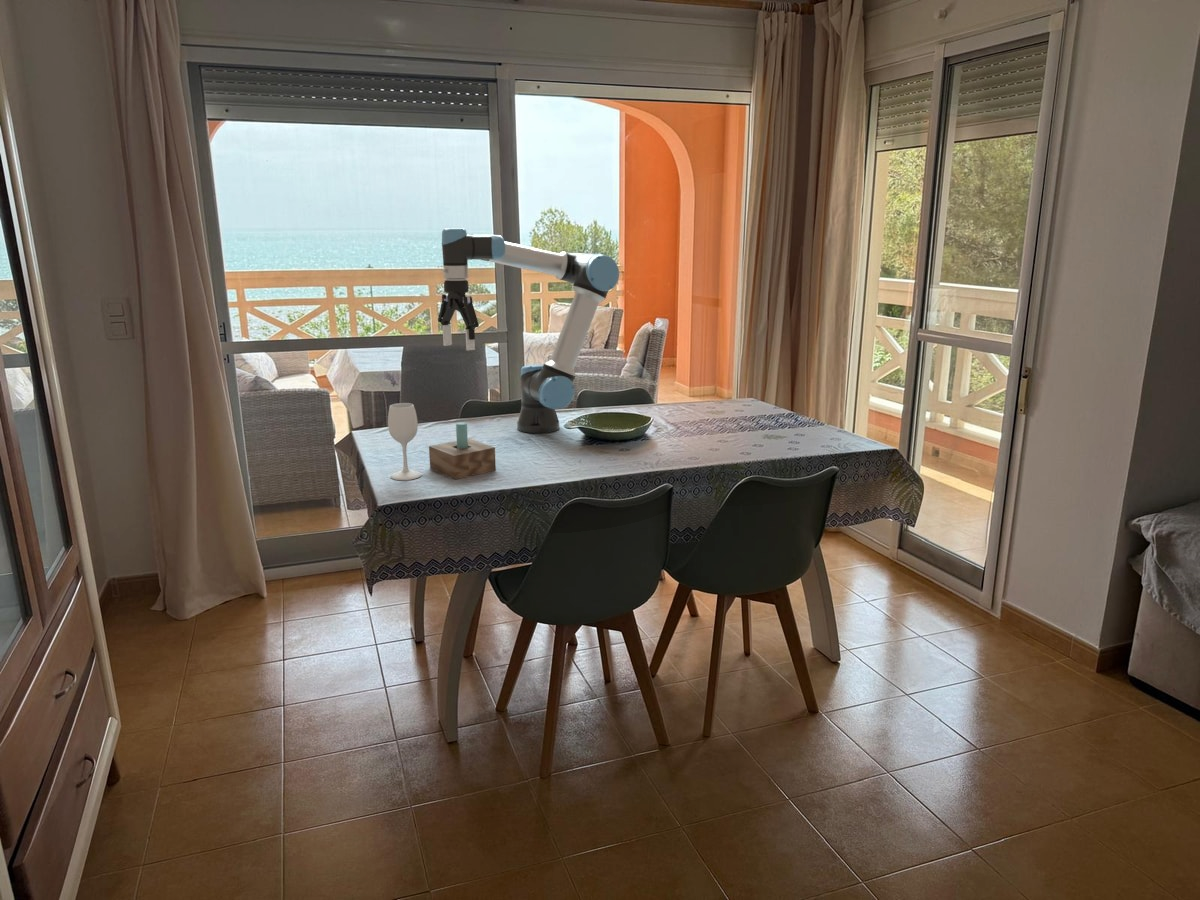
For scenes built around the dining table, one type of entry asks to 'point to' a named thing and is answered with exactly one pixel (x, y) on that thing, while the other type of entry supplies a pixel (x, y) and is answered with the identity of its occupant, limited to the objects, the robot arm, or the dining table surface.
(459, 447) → the dowel
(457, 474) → the socket block
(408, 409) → the wineglass
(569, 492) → the dining table surface
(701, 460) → the dining table surface
